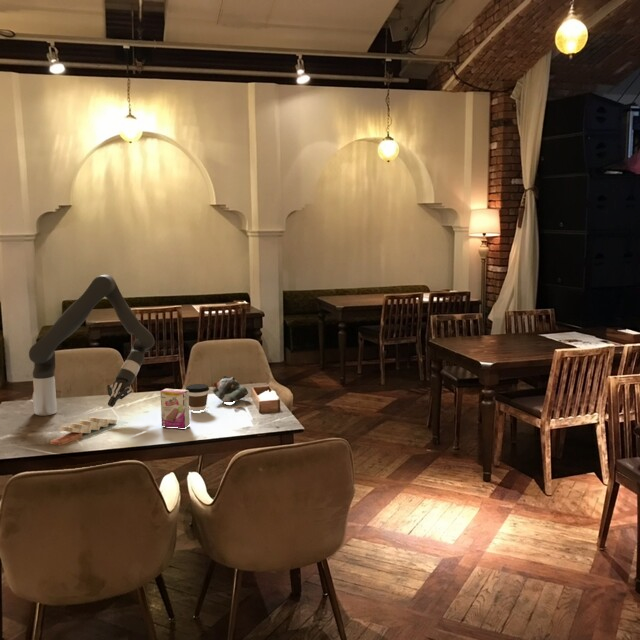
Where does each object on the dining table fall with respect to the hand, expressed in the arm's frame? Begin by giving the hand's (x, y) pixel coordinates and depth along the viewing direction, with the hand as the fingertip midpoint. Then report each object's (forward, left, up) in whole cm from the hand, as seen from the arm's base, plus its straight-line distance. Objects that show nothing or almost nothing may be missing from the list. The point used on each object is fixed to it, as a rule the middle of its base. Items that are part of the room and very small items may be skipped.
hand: (110, 405), depth 305 cm
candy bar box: (+28, +9, -9) cm, 31 cm away
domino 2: (0, -14, -7) cm, 16 cm away
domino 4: (0, -4, -7) cm, 8 cm away
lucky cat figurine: (+26, +53, -9) cm, 60 cm away
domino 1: (0, -19, -7) cm, 20 cm away
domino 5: (0, +1, -7) cm, 7 cm away
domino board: (0, -8, -8) cm, 12 cm away
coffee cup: (+22, +33, -9) cm, 40 cm away
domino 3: (0, -9, -7) cm, 12 cm away
